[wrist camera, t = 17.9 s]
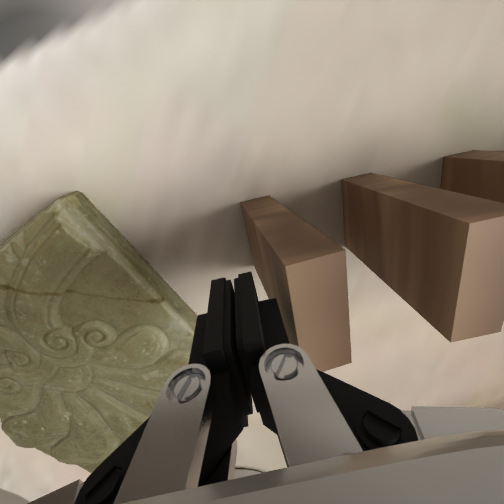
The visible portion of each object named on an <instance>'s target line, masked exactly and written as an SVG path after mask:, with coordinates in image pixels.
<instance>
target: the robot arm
mask: <svg viewBox="0 0 504 504" xmlns="http://www.w3.org/2000/svg"><path fill="white" fill-rule="evenodd" d="M238 277H239V278H236V279H234V289H233V286H232V282H231V280H227V281H226V279H225V278H220V279H216V280H212V281H211V289H210V296H209V304H208V312H207V313H206V314H202V315H198V316H197V320H196V326H195V331H194V336H193V342H192V347H191V353H190V358H189V363H188V365H186V366H183V367H181V368H179V369H178V370H176V371H175V372H174V373H172V374H171V376H170V377H169V378H168V379H167V380H166V382H165V384H164V385H163V387H162V390H161V392H160V394H159V397H158V399H157V401H156V404H155V406H154V409H153V411H152V413H151V416H150V417H149V418H148V419H147V420H146V421H145V422H144V423H143V424H142V425H141V426H140V427H138V428H137V429H136V430H135V431H134V432H133V433H132V434H131V435H130V436H129V437H128V438H127V439H126V440H125V441H124V442H123V443H122V444H121V445H120V446H119V447H118V448H117V449H116V450H115V451H113V452H112V453H111V454H110V455H109V456H108V457H107V458H106V459H105V460H104V461H103V462H102V463H101V464H100V465H99V466H98V467H97V468H96V469H95V470H94V471H93V472H92V473H91V475H90V476H89V477H88V478H87V479H86V481H85V482H82V481H81V480H80V479H79V480H77V481H75V482H73V483H71V484H68V485H66V486H64V487H62V488H60V489H58V490H56V491H53V492H51V493H49V494H47V495H45V496H43V497H41V498H38V499H36V500H34V501H32V502H30V503H28V504H504V409H498V408H465V407H413V406H412V409H411V411H401V410H400V409H398V408H396V407H395V406H393V405H391V404H390V403H388V402H386V401H383V400H381V399H379V398H377V397H375V396H373V395H371V394H368V393H366V392H364V391H362V390H360V389H358V388H356V387H354V386H351V385H349V384H347V383H345V382H343V381H341V380H339V379H337V378H334V377H332V376H330V375H328V374H326V373H324V372H322V371H319V370H317V369H315V367H314V365H313V363H312V362H311V360H310V358H309V357H308V355H307V354H306V352H305V351H304V350H303V349H302V348H300V347H298V346H296V345H293V344H290V343H289V340H288V336H287V333H286V330H285V326H284V323H283V319H282V316H281V313H280V309H279V306H278V302H277V299H276V298H272V299H268V300H264V301H258V297H257V293H256V289H255V285H254V281H253V277H252V273H251V272H247V273H242V274H238ZM234 292H235V293H234ZM252 398H253V401H254V404H255V407H256V410H257V413H258V412H260V415H261V418H262V421H263V425H265V426H266V427H267V428H269V429H270V430H271V431H273V432H274V433H276V434H277V435H278V439H279V442H280V445H281V449H282V452H283V455H284V458H285V461H286V465H287V468H283V469H278V470H273V471H269V472H264V473H262V472H258V471H254V470H247V469H235V464H236V455H237V440H236V438H237V437H238V436H239V434H240V433H241V431H242V430H243V427H247V426H248V415H249V414H253V407H252Z"/></svg>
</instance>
